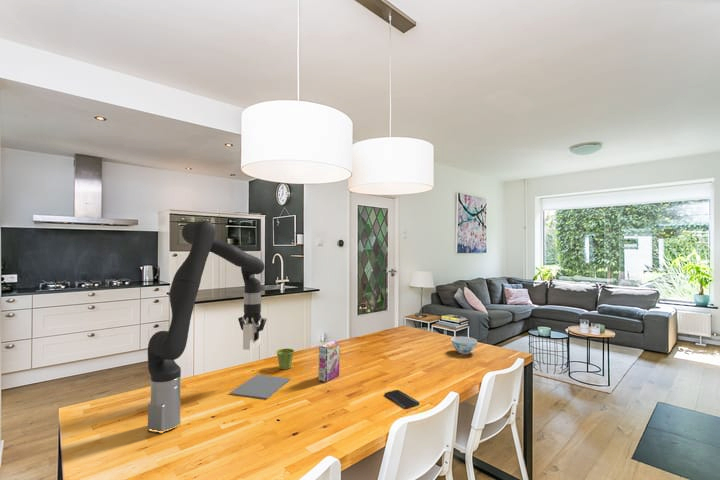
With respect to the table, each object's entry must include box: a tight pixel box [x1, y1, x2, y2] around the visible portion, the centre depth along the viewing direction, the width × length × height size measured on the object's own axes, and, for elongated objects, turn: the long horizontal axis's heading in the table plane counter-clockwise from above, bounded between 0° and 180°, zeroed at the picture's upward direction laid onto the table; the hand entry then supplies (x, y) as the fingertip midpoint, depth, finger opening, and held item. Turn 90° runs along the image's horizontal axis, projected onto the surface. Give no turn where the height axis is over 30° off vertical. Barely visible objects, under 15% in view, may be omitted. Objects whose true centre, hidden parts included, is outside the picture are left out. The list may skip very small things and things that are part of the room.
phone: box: [383, 389, 420, 410], centre depth 145 cm, size 8×1×15 cm
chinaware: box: [450, 336, 478, 355], centre depth 209 cm, size 15×15×8 cm
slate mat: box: [229, 374, 292, 400], centre depth 157 cm, size 22×18×1 cm
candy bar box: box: [318, 340, 341, 383], centre depth 168 cm, size 11×5×16 cm, turn 149°
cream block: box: [242, 320, 262, 351], centre depth 159 cm, size 9×4×11 cm, turn 165°
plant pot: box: [275, 348, 296, 370], centre depth 182 cm, size 9×9×9 cm
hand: (252, 339), depth 159 cm, fingers closed on cream block, 3 cm apart
